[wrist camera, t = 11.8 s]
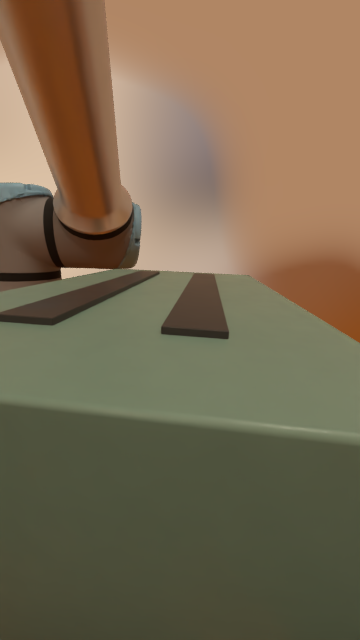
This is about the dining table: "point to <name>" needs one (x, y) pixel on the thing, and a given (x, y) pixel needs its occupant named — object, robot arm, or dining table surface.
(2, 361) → the toaster
